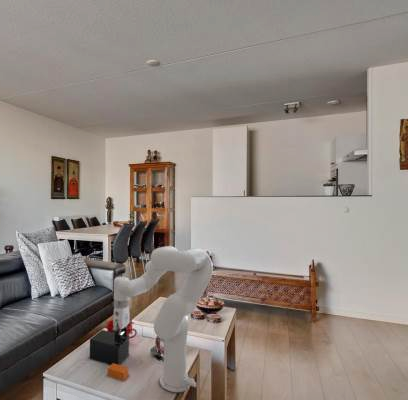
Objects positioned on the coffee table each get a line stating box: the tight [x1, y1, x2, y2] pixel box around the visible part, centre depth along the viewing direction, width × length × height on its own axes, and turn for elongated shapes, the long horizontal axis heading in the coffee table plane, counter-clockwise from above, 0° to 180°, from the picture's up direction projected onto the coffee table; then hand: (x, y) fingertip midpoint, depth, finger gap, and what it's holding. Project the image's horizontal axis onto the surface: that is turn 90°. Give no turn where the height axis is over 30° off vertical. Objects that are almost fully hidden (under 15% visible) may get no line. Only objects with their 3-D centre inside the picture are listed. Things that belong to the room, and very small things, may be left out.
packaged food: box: [149, 345, 164, 359], centre depth 158 cm, size 9×12×5 cm
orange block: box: [107, 363, 129, 382], centre depth 139 cm, size 8×5×4 cm, turn 63°
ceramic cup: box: [106, 319, 138, 339], centre depth 171 cm, size 13×17×10 cm
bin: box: [89, 339, 130, 366], centre depth 155 cm, size 16×13×9 cm
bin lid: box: [89, 329, 131, 348], centre depth 155 cm, size 16×13×5 cm
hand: (120, 338), depth 153 cm, fingers closed on bin lid, 6 cm apart
